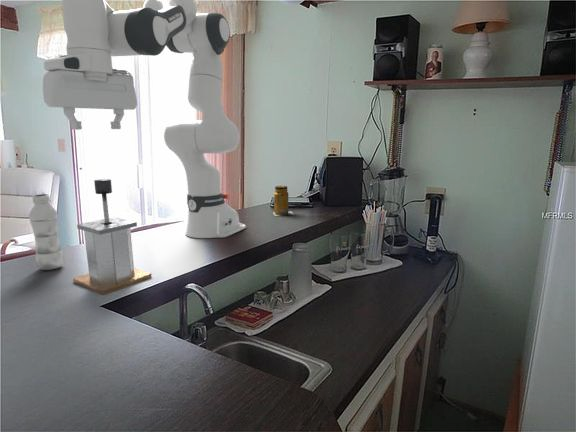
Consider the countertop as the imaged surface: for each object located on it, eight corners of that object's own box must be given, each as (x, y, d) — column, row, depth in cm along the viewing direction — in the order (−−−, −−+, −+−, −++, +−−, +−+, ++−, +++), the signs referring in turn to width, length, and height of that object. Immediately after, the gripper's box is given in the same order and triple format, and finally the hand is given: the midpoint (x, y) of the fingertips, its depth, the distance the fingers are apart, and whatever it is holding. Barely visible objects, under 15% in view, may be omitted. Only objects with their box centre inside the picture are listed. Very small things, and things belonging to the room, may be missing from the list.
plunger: (114, 243, 104) (107, 177, 100) (129, 248, 100) (123, 179, 96) (89, 250, 98) (81, 180, 94) (104, 255, 95) (96, 182, 91)
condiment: (272, 212, 176) (272, 185, 174) (291, 211, 178) (291, 184, 175) (274, 216, 169) (274, 188, 167) (294, 215, 171) (294, 187, 168)
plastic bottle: (53, 273, 105) (42, 197, 100) (30, 271, 106) (19, 197, 102) (70, 265, 111) (61, 193, 107) (49, 263, 112) (39, 192, 108)
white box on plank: (121, 267, 110) (116, 215, 106) (151, 277, 102) (146, 221, 99) (73, 282, 99) (66, 225, 96) (103, 294, 92) (96, 233, 89)
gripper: (124, 71, 100) (129, 128, 103) (35, 61, 83) (44, 129, 86) (140, 69, 96) (144, 129, 99) (50, 58, 80) (58, 130, 83)
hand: (97, 129), depth 93 cm, fingers open, 8 cm apart
